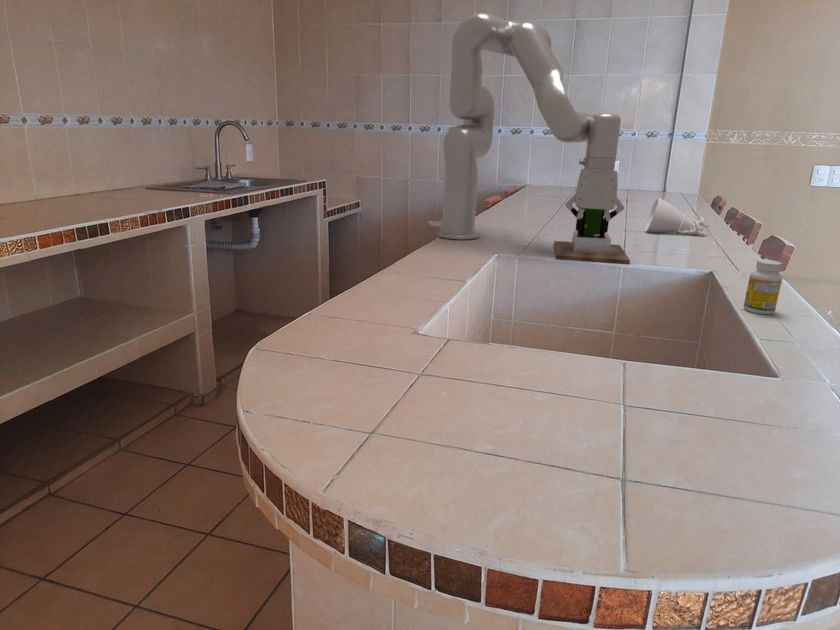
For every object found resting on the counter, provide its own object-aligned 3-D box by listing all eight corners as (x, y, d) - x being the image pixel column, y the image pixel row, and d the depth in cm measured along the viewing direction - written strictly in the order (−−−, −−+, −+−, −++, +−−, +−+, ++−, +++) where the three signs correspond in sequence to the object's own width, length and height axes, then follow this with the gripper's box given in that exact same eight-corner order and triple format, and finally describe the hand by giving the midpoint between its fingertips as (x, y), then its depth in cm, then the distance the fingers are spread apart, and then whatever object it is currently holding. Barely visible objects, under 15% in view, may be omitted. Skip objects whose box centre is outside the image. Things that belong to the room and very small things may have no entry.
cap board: (556, 259, 153) (558, 239, 151) (554, 244, 171) (555, 226, 170) (629, 264, 150) (632, 244, 148) (619, 248, 168) (621, 230, 167)
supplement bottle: (771, 316, 111) (782, 266, 108) (739, 310, 114) (750, 261, 111) (777, 310, 115) (788, 262, 112) (746, 304, 118) (756, 257, 115)
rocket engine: (717, 206, 190) (661, 190, 193) (712, 233, 185) (654, 216, 188) (702, 228, 200) (648, 213, 203) (697, 255, 195) (642, 238, 198)
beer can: (604, 245, 160) (610, 200, 156) (591, 247, 156) (597, 201, 153) (587, 242, 164) (592, 197, 160) (575, 244, 160) (580, 198, 156)
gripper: (566, 163, 151) (558, 234, 157) (636, 167, 148) (626, 239, 154) (564, 161, 158) (557, 230, 164) (632, 165, 156) (622, 234, 161)
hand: (590, 233), depth 159 cm, fingers closed on beer can, 5 cm apart
